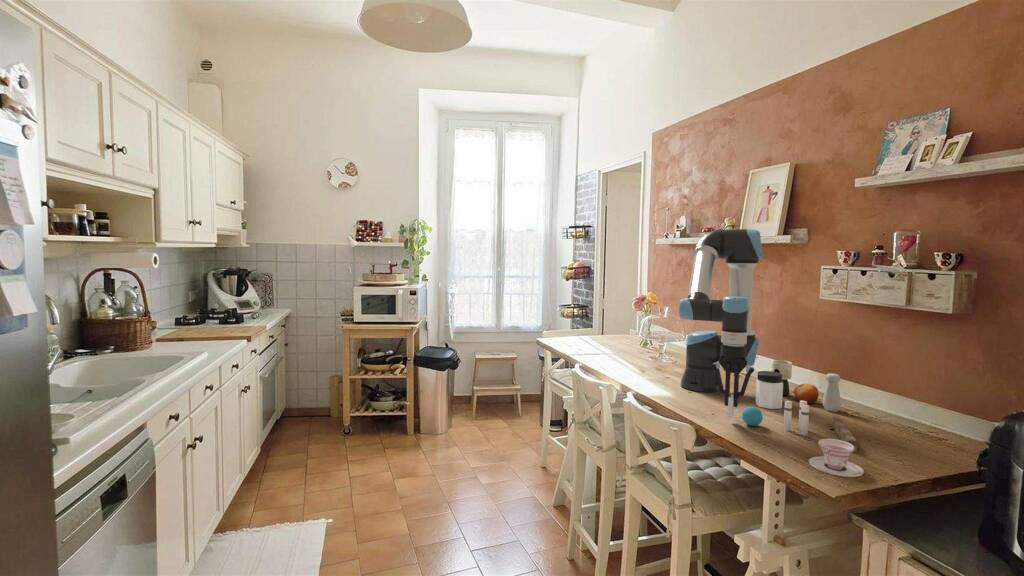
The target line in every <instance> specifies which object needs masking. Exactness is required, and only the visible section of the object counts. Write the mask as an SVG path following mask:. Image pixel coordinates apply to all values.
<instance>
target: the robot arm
mask: <svg viewBox="0 0 1024 576" xmlns="http://www.w3.org/2000/svg"><path fill="white" fill-rule="evenodd" d="M691 256H692V260H693V265H692V269H691V276H690V281H689V286H688V293H687V297H683V298H681V299H680V300H679V305H678V316H679V318H680V319H682V320H689V321H701V322H702V321H703V322H704V321H705V322H716V323H717V322H718V323H719V322H720V323H721V335H720V334H719V333H718V332H717V331H716V330H698V331H692V332H690V333H688V334H687V336H686V343H685V345H686V352H685V353H686V355H685V369H684V371H683V374H682V377H681V379H680V386H682V388H683V387H684V388H683V389H685V388H687V389H686V390H688V389H690V390H689V391H693V390H694V391H693V392H699V391H700V393H713V392H719V394H722V395H724V406H726V407H727V418H734V415H735V414H734V413H735V408H737V407H738V405H739V398H740V397H744V395H745V394H746V389H747V386H748V384H749V381H750V377H751V376H752V374H753V373H754V372H755V367H754V365H755V362H756V359H757V354H758V348H759V342H760V339H759V338H758V337H756V332H755V331H754V330H752V320H753V319H752V316H753V295H754V294H753V293H754V291H753V290H754V275H755V274H754V269H755V268H756V267H757V266H758V265H759V261H760V260H763V257H764V256H763V248H762V237H761V232H760V231H759V230H757V229H752V228H751V229H750V228H749V229H748V228H744V229H743V228H741V229H740V228H739V229H715V230H712V231H709V232H708V233H706V234H704V235H703V236H702V237H700V239H698V240H697V242H696V244H694V247H693V249H692V254H691ZM718 259H720V260H725V264H726V265H727V267H728V268H729V284H728V285H729V286H728V296H725V297H724V298H723V299H710V298H711V292H712V284H713V276H714V271H715V264H716V262H717V261H718ZM718 334H719V335H718ZM720 367H721V368H722V369H723V371H724V372H725V381H724V382H725V383H724V384H723V379H722V375H721V371H720ZM744 369H745V372H746V374H745V376H744V380H743V383H742V387H741V388H740V389H739V386H740V373H741V372H743V370H744ZM732 374H733V395H730V394H731V393H730V392H731V375H732ZM739 390H740V391H739Z"/></svg>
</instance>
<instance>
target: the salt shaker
mask: <svg viewBox="0 0 1024 576" xmlns="http://www.w3.org/2000/svg"><path fill="white" fill-rule="evenodd" d="M825 380H826V381H827V382H826V387H825V390H824V394H823V398H822V402H821V403H822V406H823V408H824V411H827V412H833V413H834V412H835V413H837V412H839V410H840V408H841V407H842V400H841V394H840V386H839V385H840V384H839V382H840V381H841V376H840V375H839V374H837V373H827V374H826V376H825Z"/></svg>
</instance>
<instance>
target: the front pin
mask: <svg viewBox="0 0 1024 576" xmlns="http://www.w3.org/2000/svg"><path fill="white" fill-rule="evenodd" d="M783 413H784V414H783V430H784V431H786V432H791V431H792V417H793V416H792V413H793V402H792V401H791V400H784V411H783Z"/></svg>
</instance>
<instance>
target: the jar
mask: <svg viewBox="0 0 1024 576" xmlns="http://www.w3.org/2000/svg"><path fill="white" fill-rule="evenodd" d="M756 375H757V377H756V379H755V381H756V383H755V404H756V405H757V407H759V408H763V409H769V410H778V409H783V399H784V398H783V396H784V395H783V382H782V377H783V375H782V374H781V373H778V372H772V370H771V371H770V370H760V371H757V374H756Z"/></svg>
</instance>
